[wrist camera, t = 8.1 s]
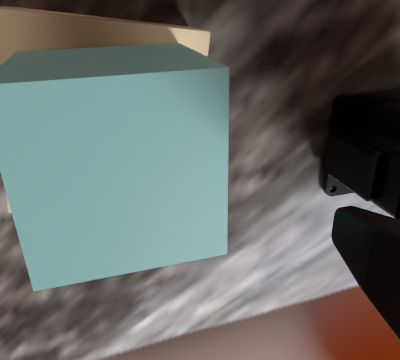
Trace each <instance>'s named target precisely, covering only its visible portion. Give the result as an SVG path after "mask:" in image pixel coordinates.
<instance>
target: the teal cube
mask: <svg viewBox="0 0 400 360" xmlns="http://www.w3.org/2000/svg"><path fill="white" fill-rule="evenodd" d="M228 136H229V67H228V66H226V65H224V64H222V63H220V62H217V61H215V60H213V59H211V58H209V57H207V56H205V55H203V54H201V53H199V52H197V51H195V50H193V49H191V48H189V47H186V46H184V45H182V44H180V43H163V44H145V45H127V46H108V47H90V48H72V49H54V50H35V51H17V52H15V53H14V54H13V55H12V56H10V57H9V58H8V59H7V60H6V61H5V62H3V63H2V64H1V65H0V172H1V175H2V179H3V183H4V186H5V190H6V194H7V197H8V201H9V204H10V208H11V212H12V215H13V219H14V222H15V226H16V230H17V233H18V237H19V240H20V244H21V248H22V251H23V255H24V258H25V262H26V266H27V269H28V273H29V276H30V280H31V284H32V287H33V291H38V290H43V289H48V288H54V287H59V286H64V285H69V284H74V283H80V282H85V281H90V280H95V279H100V278H105V277H111V276H116V275H121V274H126V273H131V272H137V271H142V270H147V269H152V268H157V267H162V266H168V265H173V264H178V263H183V262H188V261H194V260H199V259H204V258H209V257H214V256H220V255H225V254H227V219H228Z"/></svg>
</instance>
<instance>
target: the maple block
mask: <svg viewBox="0 0 400 360" xmlns="http://www.w3.org/2000/svg"><path fill="white" fill-rule="evenodd" d="M209 41H210V32H209V31H205V30H201V29H197V28H193V27H189V26H180V25H171V24H162V23H153V22H145V21H136V20H127V19H118V18H109V17H100V16H92V15H83V14H74V13H65V12H56V11H47V10H38V9H30V8H21V7H12V6H0V65H1V64H2V63H3V62H5V61H6V60H7V59H8V58H9V57H10V56H12V55H13V54H14V53H15V52H17V51H35V50H54V49H72V48H90V47H108V46H127V45H145V44H163V43H180V44H182V45H184V46H186V47H189V48H191V49H193V50H195V51H197V52H199V53H201V54H203V55H205V56H207V57H208V49H209ZM7 203H8V213H12V212H11V208H10V204H9V201H8V197H7Z"/></svg>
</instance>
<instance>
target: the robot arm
mask: <svg viewBox="0 0 400 360" xmlns="http://www.w3.org/2000/svg"><path fill="white" fill-rule="evenodd" d="M343 101H344V105H343V106H342V107H341V103H342V102H343ZM324 170H325V175H324V183H323V191H324V192H325V193H326V194H327V195H329V196H336V195H342V194H348V193H356V194H357V195H358V196H360V197H361V198H363V199H364V200H365V201H371V202H373V203H374V204H375V205H377V206H378V207H380V208H381V209H383V210H384V211H386V212H387V213H388V214H390V215H391V216H393V217H394V218H392V217H389V216H385V215H382V214H378V213H375V212H372V211H368V210H365V209H361V208H358V207H354V206H347V207H341V208H338V209H337V210H336V211H335V215H334V221H333V228H332V241H333V243H334V245H335V247H336V248H337V250H338V252H339V253H340V255H341V257H342V258H343V260H344V261H345V263H346V265H347V266H348V268H349V270H350V271H351V273H352V275H353V276H354V278H355V279H356V281H357V283H358V284H359V286H360V287H361V289H362V290H363V292H364V293H365V294H366V296H367V297H368V299H369V300H370V301H371V302H372V304H373V305H374V306H375V308H376V309H377V310H378V312H379V313H380V314H381V316H382V317H383V318H384V320H385V321H386V322H387V324H388V325H389V326H390V327H391V329H392V330H393V332H394V333H395V334H396V335H397V337H398V338H399V339H400V220H399V219H400V88H396V89H387V90H378V91H368V92H359V93H350V94H341V95H338V96H337V97H336V98H335V100H334V102H333V108H332V117H331V125H330V132H329V135H328V143H327V151H326V159H325V168H324ZM332 186H333V188H332V189H331V190H330V188H331V187H332ZM395 218H396V219H395Z"/></svg>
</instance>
